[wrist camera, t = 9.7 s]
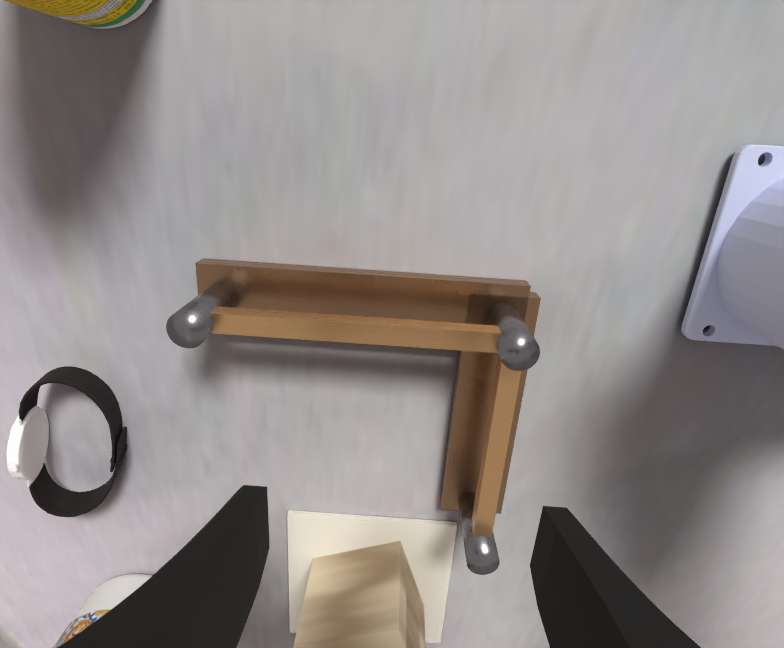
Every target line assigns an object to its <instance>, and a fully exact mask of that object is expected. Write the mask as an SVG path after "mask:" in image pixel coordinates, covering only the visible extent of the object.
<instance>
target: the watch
mask: <svg viewBox="0 0 784 648" xmlns="http://www.w3.org/2000/svg"><path fill="white" fill-rule="evenodd" d="M47 383H61V384H66V385H69V386H72V387H74V388H77V389H78V390H80V391H82V392H83V393H85V394H86V395H87V396H88V397H90V398H91V399H92V400H93V401H94V402H95V403H96V405H97V406H98V407H99V408H100V409H101V411H102V412H103V414H104V416H105V418H106V420H107V422H108V424H109V427H110V433H111V440H112V458H111V461H110V462H111V468H110V472H113V470H114V467H115V470H114V473H113V476H112V477H111V479H110V480H109V481H108V482H107V483H106V484H104V485H102V486H101V487H99V488H97V489H94V490H91V491H86V492H73V491H69V490H66V489H63V488H62V487H60V486H59V485H57V484H56V483H55V482H54V481H53V480H52V478H51V477H50V475H49V474H48V472H47V469H46V466H45V462H44V459H45V457H46V453H47V447H48V442H49V422H48V418H47V415H46V412H45V410H43V409H42V408H40V407H38V406H37V399H38V392H39V388H40V386H41V385H43V384H47ZM126 437H127V427H124V429H123V430H122V417H121V411H120V408H119V404H118V401H117V399H116V397H115V395H114V393H113V392H112V390H111V389H110V387H109V386H108V385H107V384H106V383H105V382H104V381H102V380H101V379H100V378H99V377H98V376H96V375H94V374H92V373H91V372H89V371H87V370H84V369H81V368H77V367H60V368H56V369H54V370H52V371H50V372H48V373H47V374H45V375H44V376H43V377H42V378H41V379H40V380H39V381H37V382H36V383H35V384H34V385H33V386H32V387H31V388H30V389H29V390H28V391H27V392H26V394H25V395H24V397H23V399H22V401H21V403H20V408H19V416H18V417H17V419H16V421H15V422H14V424H13V426H12V428H11V431H10V436H9V440H8V446H7V466H8V470H9V472H10V474H11V475H12V476H13V477H14V478H18V479H24V480H28V487H29V489H30V492H31V495H32V497H33V499H34V501H35V502H36V504H37V505H38V506H39V507H40V508H42V509H43V510H44V511H46V512H47V513H49V514H52V515H55V516H60V517H75V516H78V515H81V514H84V513H87V512H89V511H91V510H93V509H94V508H96V507H97V506H99V505H100V504H101V503H102V502H103V501H104V499H105V498H106V496H107V495H108V493H109V491H110V490H111V487H112V484H113V482H114V480H115V477H116V475H117V473H118V470H119V468H120V466H121V463H122V460H123V457H124V453H125V451H126V447H127V445H126Z"/></svg>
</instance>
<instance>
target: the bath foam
mask: <svg viewBox="0 0 784 648" xmlns="http://www.w3.org/2000/svg"><path fill="white" fill-rule="evenodd" d="M151 577H152V575H145V574H127V575H121V576H117V577H114V578H111V579H109V580H107V581H105V582H104V583H102V584H101V585H99V586H98V587H97V588H96V589H95V590H94V591H93V592H92V593H91V594H90V596H89V597H88V598H87V600H86V601H85V603H84V604H83V606H82V607H81V609H80V610H79V611H78V613H77V614H76V616H75V617H74V619H73V620H72V622H71V623H70V624H69V625H68V627H67V628H66V630H65V631H64V633H63V634H62V636H61V637H60V638H59V640H58V641H57V643H56V644H55V646H54V647H53V648H57V647H59V646H61V645H62V644H64V643H65V642H67V641H68V640H70V639H71V638H72V637H74V636H75V635H77V634H78V633H79V632H81V631H82V630H84V629H85V628H87V627H88V626H89V625H91V624H92V623H94V622H95V621H96V620H98V619H99V618H100V617H102V616H103V615H104V614H106V613H107V612H108V611H110V610H111V609H113V608H114V607H115V606H116V605H118V604H119V603H120V602H121V601H123V600H124V599H125V598H126V597H128V596H129V595H130V594H132V593H133V592H134V591H135V590H136V589H138V588H139V587H140V586H141V585H142V584H144V583H145V582H146V581H147V580H148V579H149V578H151Z"/></svg>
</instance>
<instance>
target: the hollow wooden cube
mask: <svg viewBox="0 0 784 648" xmlns="http://www.w3.org/2000/svg"><path fill="white" fill-rule="evenodd" d="M293 648H426V647H425V620H424V604H423V602H422V599H421V596H420V593H419V591H418V588H417V585H416V582H415V580H414V577H413V574H412V571H411V569H410V566H409V563H408V560H407V558H406V555H405V552H404V549H403V547H402V544H401V541H397V542H392V543H387V544H382V545H377V546H372V547H367V548H362V549H357V550H352V551H347V552H342V553H337V554H332V555H327V556H322V557H317V558H313V560H312V565H311V570H310V574H309V579H308V583H307V588H306V592H305V597H304V601H303V606H302V610H301V615H300V619H299V624H298V628H297V633H296V637H295V642H294V646H293Z"/></svg>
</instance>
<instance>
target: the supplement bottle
mask: <svg viewBox="0 0 784 648" xmlns="http://www.w3.org/2000/svg"><path fill="white" fill-rule="evenodd" d="M5 1H8V2H11V3H14V4H17V5H20V6H23V7H26V8H29V9H33V10H36V11H39V12H42V13H44V14H48V15H51V16H54V17H57V18H60V19H64V20H67V21H70V22H73V23H76V24H79V25H82V26H86V27H90V28H98V29H108V28H115V27H120V26H122V25H125V24H127V23H129V22H131V21H133V20H135V19H136V18H138V17H139V16H140V15H141V14H142V13H143V12H145V10H146V9H147V7H148V6H149V4H150V3H151V2H152V0H5Z"/></svg>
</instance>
